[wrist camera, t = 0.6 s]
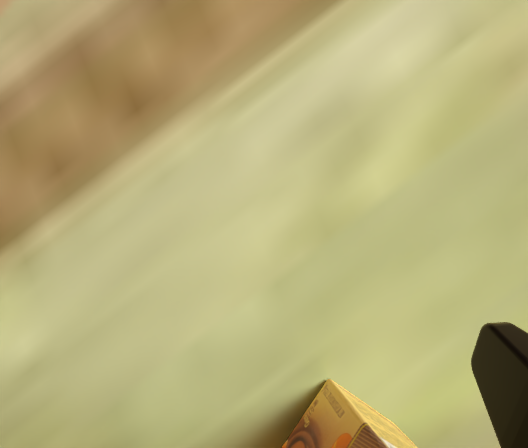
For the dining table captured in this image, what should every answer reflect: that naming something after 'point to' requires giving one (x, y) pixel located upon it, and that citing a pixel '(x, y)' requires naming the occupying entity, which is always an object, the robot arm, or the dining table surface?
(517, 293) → the dining table surface
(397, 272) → the dining table surface
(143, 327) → the dining table surface
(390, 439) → the candy box
